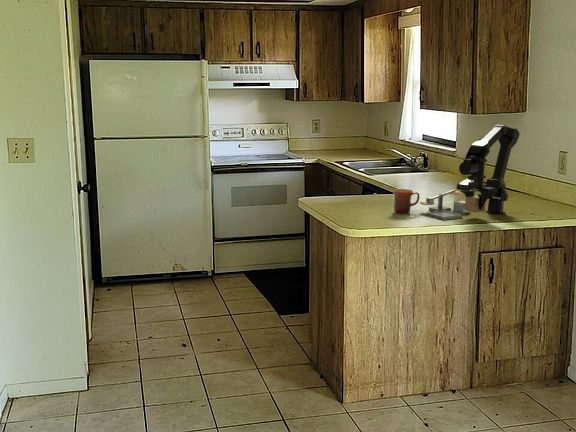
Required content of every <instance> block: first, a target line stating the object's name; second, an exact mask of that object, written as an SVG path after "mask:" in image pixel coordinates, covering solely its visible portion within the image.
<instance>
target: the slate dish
mask: <svg viewBox="0 0 576 432" xmlns="http://www.w3.org/2000/svg"><path fill="white" fill-rule="evenodd" d="M425 214H426V217H430V218H433V219H436V220H437V219H438V220H441V221H448V220H455V219H463V214H461V213H456V212H453V211H446V210H443V211H435V212H432V211H429V212H427V211H426V213H425Z"/></svg>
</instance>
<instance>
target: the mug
mask: <svg viewBox="0 0 576 432" xmlns="http://www.w3.org/2000/svg"><path fill="white" fill-rule="evenodd" d="M392 191H393V197H394V199H393V200H394V201H393V211H394V213H395V214H398V215H407V214H409V213H411V207H413V206H415V205H417V204H418V203H419V202H420V197H421V196H420V193H419V192H417V191H413V190H412V189H407V188H395V189H393V190H392ZM414 195H416V201H415V202H413V203H412V202H411V201H412V196H414Z"/></svg>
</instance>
